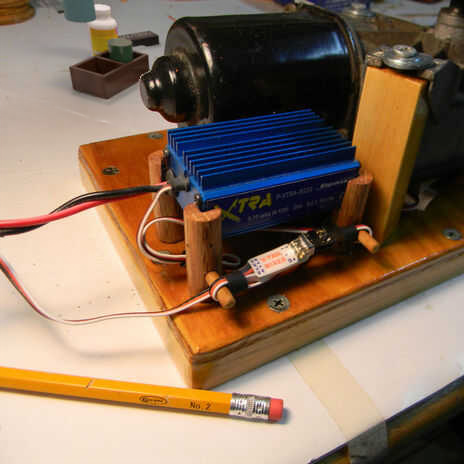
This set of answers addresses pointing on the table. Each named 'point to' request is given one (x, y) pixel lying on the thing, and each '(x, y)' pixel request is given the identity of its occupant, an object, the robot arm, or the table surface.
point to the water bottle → (79, 10)
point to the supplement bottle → (101, 29)
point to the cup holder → (107, 74)
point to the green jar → (120, 50)
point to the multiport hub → (142, 38)
